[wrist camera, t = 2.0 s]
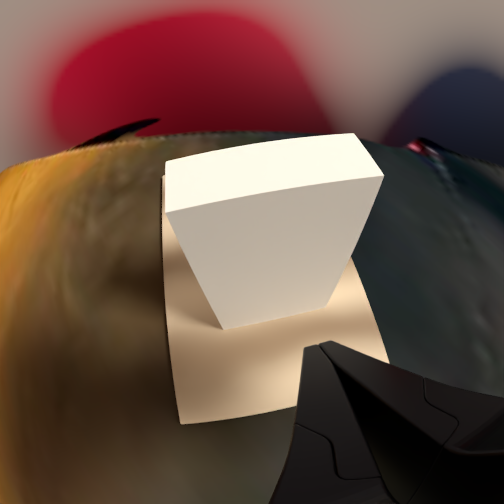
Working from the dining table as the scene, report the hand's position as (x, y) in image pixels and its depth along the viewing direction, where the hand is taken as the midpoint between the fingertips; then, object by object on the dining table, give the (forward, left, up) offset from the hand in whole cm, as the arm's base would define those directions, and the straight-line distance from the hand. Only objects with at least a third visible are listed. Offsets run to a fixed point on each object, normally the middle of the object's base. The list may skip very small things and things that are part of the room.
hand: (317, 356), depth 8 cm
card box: (+5, +3, -10) cm, 11 cm away
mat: (+8, +6, -10) cm, 14 cm away
